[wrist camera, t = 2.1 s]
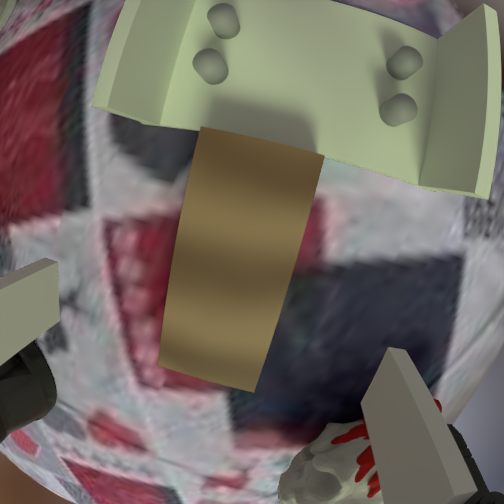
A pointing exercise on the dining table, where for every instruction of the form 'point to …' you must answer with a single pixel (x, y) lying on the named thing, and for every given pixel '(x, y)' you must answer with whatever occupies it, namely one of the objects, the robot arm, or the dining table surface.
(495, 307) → the dining table surface
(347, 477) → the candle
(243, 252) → the brown long block
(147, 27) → the shelf frame
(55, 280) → the robot arm
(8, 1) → the french press
